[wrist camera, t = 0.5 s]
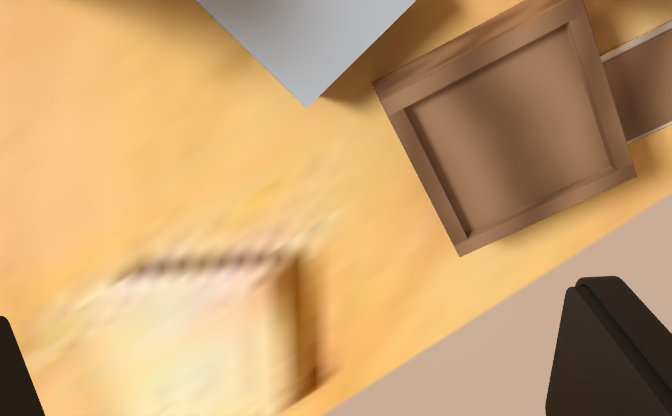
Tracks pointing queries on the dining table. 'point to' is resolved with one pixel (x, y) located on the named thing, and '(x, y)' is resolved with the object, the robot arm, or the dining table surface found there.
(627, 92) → the swatch
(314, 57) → the slate block
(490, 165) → the walnut tray
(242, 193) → the dining table surface
